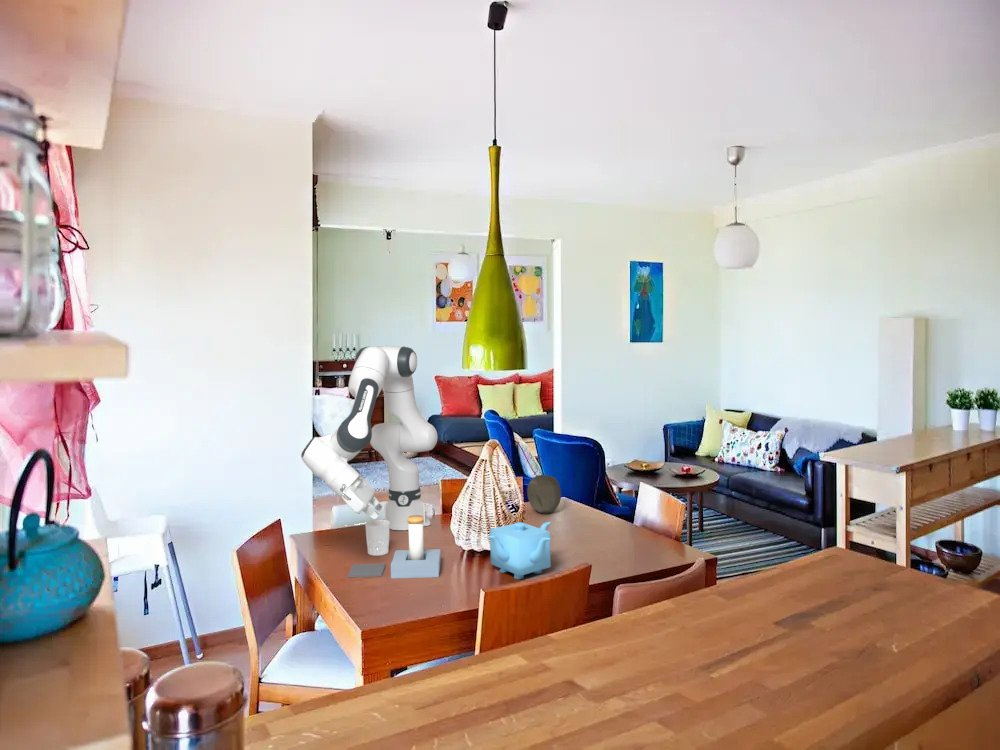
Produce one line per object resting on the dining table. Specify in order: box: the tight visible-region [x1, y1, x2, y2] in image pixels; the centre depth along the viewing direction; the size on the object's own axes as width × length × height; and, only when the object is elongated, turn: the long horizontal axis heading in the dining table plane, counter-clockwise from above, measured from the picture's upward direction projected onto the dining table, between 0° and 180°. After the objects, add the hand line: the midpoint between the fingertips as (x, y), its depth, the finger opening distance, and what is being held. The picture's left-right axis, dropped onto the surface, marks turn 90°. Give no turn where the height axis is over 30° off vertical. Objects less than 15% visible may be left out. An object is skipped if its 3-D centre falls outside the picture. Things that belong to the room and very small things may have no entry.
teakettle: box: [486, 521, 552, 580], centre depth 208 cm, size 19×19×15 cm
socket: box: [390, 548, 442, 579], centre depth 211 cm, size 14×14×4 cm
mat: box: [347, 562, 387, 578], centre depth 211 cm, size 10×10×1 cm
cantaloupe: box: [526, 474, 562, 515], centre depth 277 cm, size 14×14×15 cm
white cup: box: [364, 519, 391, 557], centre depth 228 cm, size 8×8×10 cm
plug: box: [407, 515, 425, 560], centre depth 211 cm, size 5×5×16 cm
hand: (379, 513), depth 210 cm, fingers open, 8 cm apart
